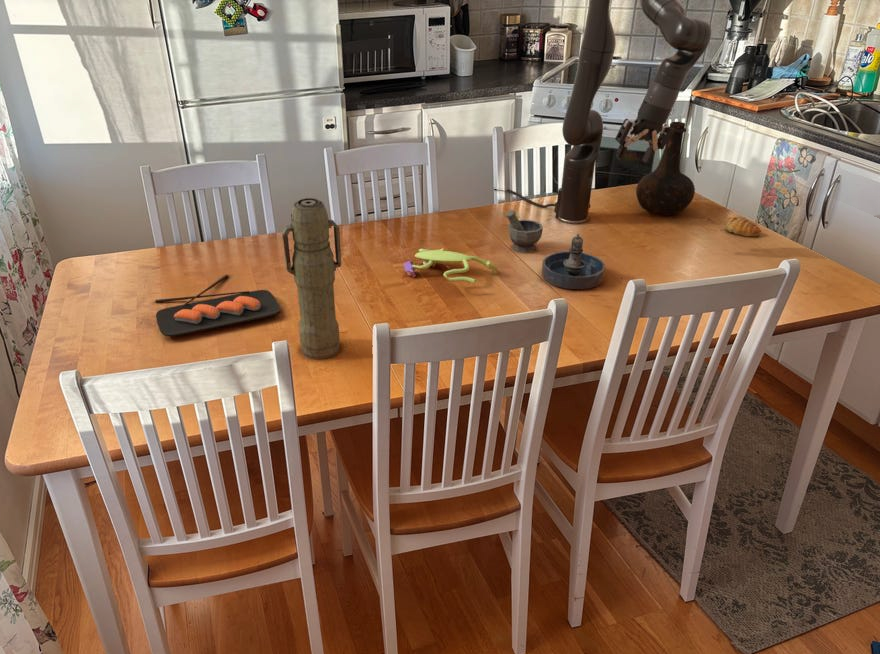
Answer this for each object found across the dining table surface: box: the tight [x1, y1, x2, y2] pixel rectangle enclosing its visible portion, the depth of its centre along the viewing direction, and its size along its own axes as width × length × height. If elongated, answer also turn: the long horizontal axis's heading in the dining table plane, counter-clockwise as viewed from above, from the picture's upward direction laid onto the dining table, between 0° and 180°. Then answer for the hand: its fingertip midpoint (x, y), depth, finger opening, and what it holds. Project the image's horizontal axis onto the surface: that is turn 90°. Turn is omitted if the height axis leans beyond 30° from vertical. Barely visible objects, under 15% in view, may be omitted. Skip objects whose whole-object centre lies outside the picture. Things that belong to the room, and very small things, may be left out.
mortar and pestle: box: [505, 209, 544, 253], centre depth 209 cm, size 11×9×12 cm
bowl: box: [541, 251, 606, 290], centre depth 195 cm, size 16×16×4 cm
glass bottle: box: [635, 121, 696, 216], centre depth 229 cm, size 18×18×28 cm
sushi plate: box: [155, 274, 281, 337], centre depth 184 cm, size 29×30×4 cm
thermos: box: [281, 197, 342, 360], centre depth 157 cm, size 9×12×35 cm
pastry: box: [725, 216, 762, 237], centre depth 219 cm, size 9×7×4 cm
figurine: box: [402, 247, 499, 285], centre depth 197 cm, size 18×27×6 cm
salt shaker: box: [563, 233, 586, 276], centre depth 192 cm, size 6×6×12 cm
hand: (631, 160), depth 195 cm, fingers open, 8 cm apart
